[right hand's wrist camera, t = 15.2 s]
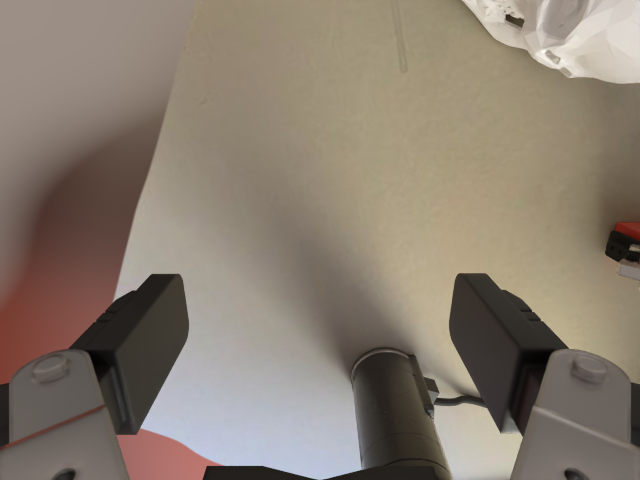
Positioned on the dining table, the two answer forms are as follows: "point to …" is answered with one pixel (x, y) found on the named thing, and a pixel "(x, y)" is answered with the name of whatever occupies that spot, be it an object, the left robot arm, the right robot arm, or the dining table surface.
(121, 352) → the right robot arm
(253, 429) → the dining table surface
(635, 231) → the brick
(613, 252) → the left robot arm
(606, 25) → the skull
